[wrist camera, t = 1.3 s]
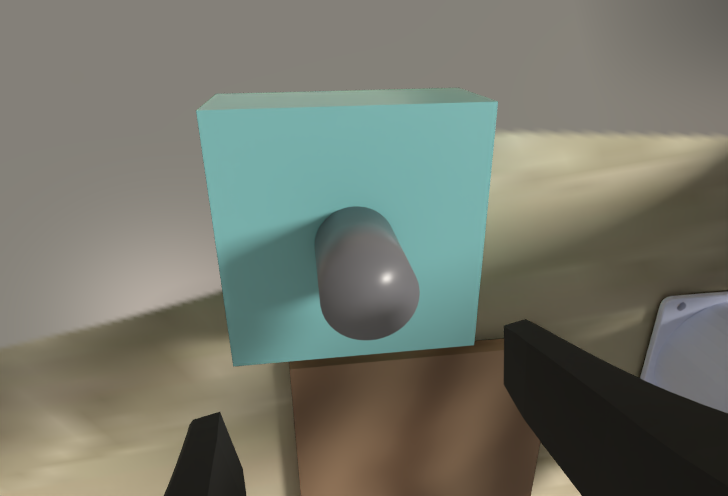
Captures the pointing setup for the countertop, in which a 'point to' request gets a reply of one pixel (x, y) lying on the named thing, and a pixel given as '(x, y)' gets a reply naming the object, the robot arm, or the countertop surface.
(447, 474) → the walnut board
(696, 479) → the robot arm
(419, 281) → the cover
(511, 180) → the countertop surface
